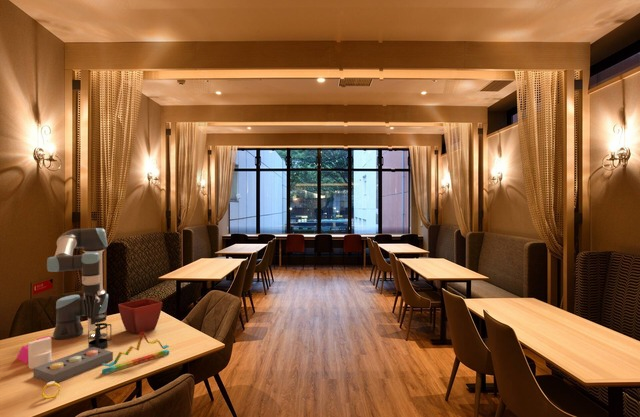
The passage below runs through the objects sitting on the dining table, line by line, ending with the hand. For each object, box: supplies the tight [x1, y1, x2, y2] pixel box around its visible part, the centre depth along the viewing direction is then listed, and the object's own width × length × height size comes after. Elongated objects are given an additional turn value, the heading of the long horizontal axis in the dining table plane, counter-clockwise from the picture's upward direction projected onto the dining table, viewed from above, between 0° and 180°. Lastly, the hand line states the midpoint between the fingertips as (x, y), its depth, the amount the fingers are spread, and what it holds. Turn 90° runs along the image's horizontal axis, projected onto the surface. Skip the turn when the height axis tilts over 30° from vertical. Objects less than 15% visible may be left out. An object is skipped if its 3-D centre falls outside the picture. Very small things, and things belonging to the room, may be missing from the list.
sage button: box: [69, 356, 81, 363], centre depth 171 cm, size 5×5×3 cm
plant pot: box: [118, 297, 163, 335], centre depth 224 cm, size 19×19×17 cm
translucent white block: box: [27, 336, 52, 370], centre depth 175 cm, size 9×9×12 cm
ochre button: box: [50, 362, 64, 370], centre depth 164 cm, size 5×5×3 cm
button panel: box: [32, 347, 114, 384], centre depth 171 cm, size 16×27×4 cm, turn 154°
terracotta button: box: [86, 350, 98, 357], centre depth 178 cm, size 5×5×3 cm
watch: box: [41, 381, 61, 400], centre depth 145 cm, size 6×3×6 cm, turn 120°
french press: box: [87, 305, 112, 350], centre depth 196 cm, size 12×9×23 cm
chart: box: [101, 331, 170, 376], centre depth 176 cm, size 30×3×15 cm, turn 138°
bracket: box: [16, 335, 52, 365], centre depth 184 cm, size 12×10×10 cm
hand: (91, 330), depth 178 cm, fingers closed
